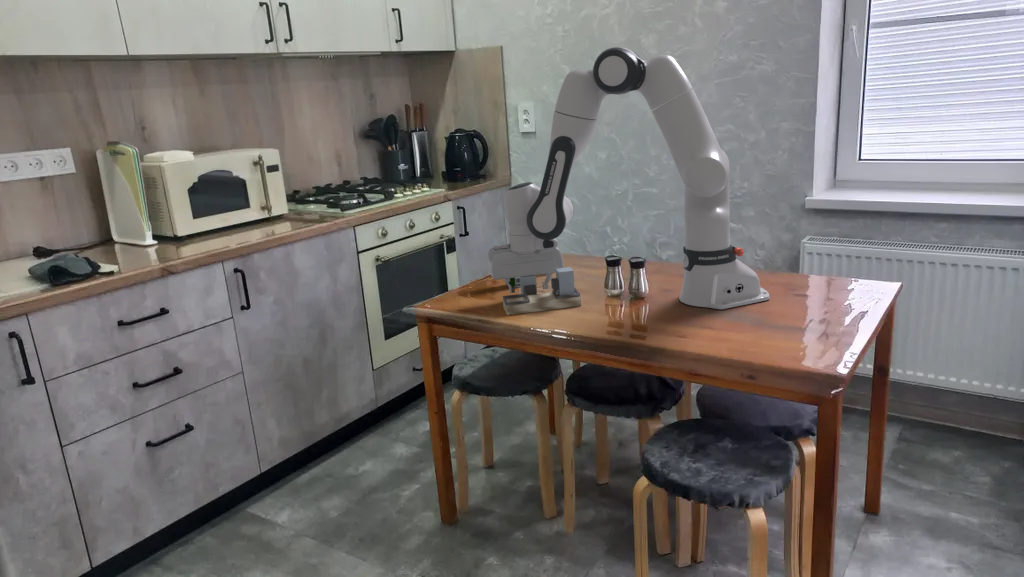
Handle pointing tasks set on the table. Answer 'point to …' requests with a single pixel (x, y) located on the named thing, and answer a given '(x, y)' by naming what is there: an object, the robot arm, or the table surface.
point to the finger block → (528, 285)
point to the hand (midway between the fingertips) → (528, 290)
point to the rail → (539, 302)
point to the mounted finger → (563, 281)
